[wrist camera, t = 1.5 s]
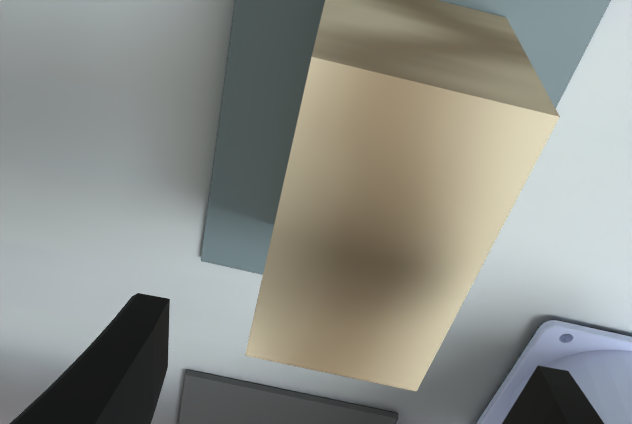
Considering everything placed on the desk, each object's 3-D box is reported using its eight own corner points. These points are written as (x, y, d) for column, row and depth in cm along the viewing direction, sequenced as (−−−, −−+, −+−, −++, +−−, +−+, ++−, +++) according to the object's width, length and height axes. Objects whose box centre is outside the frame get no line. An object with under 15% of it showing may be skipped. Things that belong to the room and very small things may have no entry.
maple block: (506, 17, 16) (559, 116, 12) (407, 255, 22) (416, 391, 17) (331, -27, 16) (311, 56, 11) (274, 225, 21) (245, 355, 17)
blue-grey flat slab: (636, -57, 15) (639, -54, 15) (449, 311, 24) (449, 315, 23) (257, -156, 15) (255, -155, 15) (201, 257, 23) (200, 261, 23)
